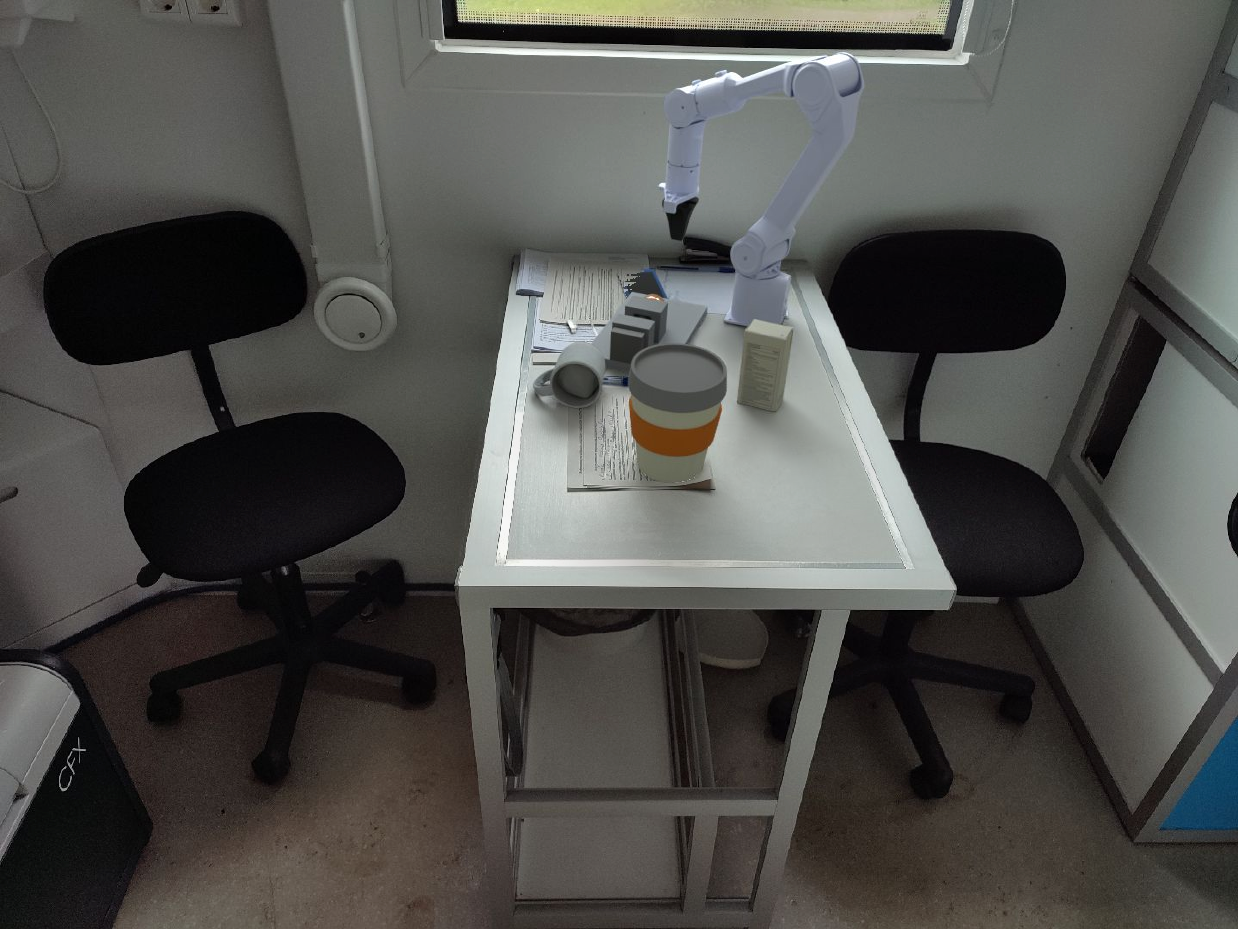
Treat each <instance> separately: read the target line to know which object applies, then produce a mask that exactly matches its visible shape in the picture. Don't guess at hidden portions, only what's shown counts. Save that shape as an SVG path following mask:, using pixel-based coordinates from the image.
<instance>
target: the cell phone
mask: <svg viewBox="0 0 1238 929" xmlns="http://www.w3.org/2000/svg"><path fill="white" fill-rule="evenodd" d="M640 270H644V272H640V273H639V272H638V273H637V274H631V276H638V277H636V278H635V279H634V278H633V279H630V281H628V279H627V281H625V282H636V283H634V284H632V285H631V286H629V285H630V284H628V286H625V287H623V288H624V289H628V291H626V292H625V293H624V295H625V294H626V296H627V298H628V296H629V295H630V294H631V292H635V293H640V294H645V295H649V294H656V295H659V296H660V297H662V298H666V299H669V298H668V296H667V294H666V292H665V290H664V288H663V286H662V283H661V282H660V279H659V277H658V275H657V272H656V270H654V269H652V268H645V269H644V268H642V269H640ZM627 276H629V274H627ZM639 276H640V277H639ZM623 288H622V289H623ZM630 289H632V290H630ZM626 296H625V297H626Z"/></svg>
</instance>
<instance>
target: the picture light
mask: <svg viewBox="0 0 1238 929" xmlns="http://www.w3.org/2000/svg"><path fill="white" fill-rule="evenodd" d="M584 318H585V319H584ZM586 318H587V317H585V316H582V317H580V318H578V319H577V320H576V322H575V324H574V322H573V321H572V319H569V320H566V321H568V322H567V324H568V325H569V328H570V330H571V334H572V333H574V334H577V330H578V329H579V328H578V325H579V324H580V323H581V322H582V321H587V320H588V319H589V318H590V317H589V318H588V319H586ZM581 319H582V320H581ZM578 321H579V322H578ZM588 321H590V324H591V327H592V328H591V327H590V328H591V330H592V332H593V331H594V332H593V334H594V333H595V334H594V336H595V335H596V336H595V338H596V337H597V336H598V334H599V333H598V331H597V329H596V328H595V325H594V323H593V321H592V320H591V318H590V319H589V320H588ZM588 321H587V322H588ZM596 331H597V332H596Z"/></svg>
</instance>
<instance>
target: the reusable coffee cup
mask: <svg viewBox="0 0 1238 929" xmlns="http://www.w3.org/2000/svg"><path fill="white" fill-rule="evenodd" d="M627 387H628V391H629V392H630V397H629V398H628V400H629V401H628V410H629V420H630V432H631V435H632V438H633V440H634V443H635V452H636V455H635V456H636V463H637V466H638V468H639V470H640V471H641V473H643V474H644V475H645V476H647V477H648V478H650V479H652V480H654V481H657V482H661V483H666V482H672V483H671V484H676V483H675V482H681V483H683V482H682V481H685V482H688V481H690V480H689V479H691V480H693V479H694V477H695V478H696V477H698V476H699V475H700V474H701V472H702V470H703V468H704V464H705V460H706V457H707V454H708V450H709V448H710V447H711V445H712V444H713V442H714V440H715V437H716V434H717V430H718V426H719V423H720V420H721V416H722V412H723V407H722V401H723V400H724V399H725V397H726V395H727V390H728V389H727V388H728V370H727V365H726V363H725V361H724V360H723V359H722V358H721V357H720V356H719V355H717V354H716V353H715V352H712V351H711V350H708V349H707V348H704V347H701V346H697V345H694V344H690V343H689V344H683V343H664V344H658V345H653V346H650V347H647V348H645V349H643V350H641V351H640V352H638V353H637V354H636V355H635V356H634V357H633V359H632V362H631V367H630V372H628V378H627ZM687 480H688V481H687Z"/></svg>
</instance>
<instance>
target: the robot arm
mask: <svg viewBox="0 0 1238 929" xmlns="http://www.w3.org/2000/svg"><path fill="white" fill-rule="evenodd" d="M714 76H715V77H713V78H712V77H711V78H708V79H706V80H701V79H695V80H693V81H692V82H691V84H690V85H687V86H685V87H684V86H683V87H681V88H680V87H679V88H674V90H673V91H670V92H669V93H668V94H667V95H666V96H665V99H664V101H663V113H664V116H665V118H666V120H667V122H668V123H669V126H668V127H669V129H668V142H667V156H666V167H665V168H666V170H665V182H661V183H659V185H657V186H658V187H657V189H658V191H662V192H663V196H664V198H663V200H661V201H662V202H661V206H662V210H663V211H662V212H663V213H665V215H666V220H667V224H668V230H669V236H670V239H671V240H674V241H679V242H682V241H683V240H684V238H685V236H686V233H687V230H688V226H689V223H690V220H691V217H692V215H693V212H694V211H695V207H696V206H697V205H698V204H699V199H700V198H699V197H698V196H699V193H700V186H699V182H700V172H701V162H702V152H703V142H704V133H705V130H706V123H707V121H708V120H711V119H716V118H718V117H722V116H725V115H729V114H732V113H733V114H734V113H737V112H740V111H741V110H742V109H743V107H744V106H745V104H746V102H747V100H749V99H752V98H756V97H760V96H765V95H768V94H772V93H778V92H781V91H783V93H784V94H785V95H786V96H787V98H790V99H791V98H795V101H796V103H797V104H798V106H799V108H800V110H801V111H802V113H803V115H804V117H805V118H806V120H807V122H808V123H809V126H810V127H811V129H812V130H811V131H812V133H813V134H812V137H811V138H810V139H809V141H808V143H807V145H806V147H805V148H804V150H803V151H802V153H801V154H800V156H799V158H797V160H796V162H795V163H794V166H793V167H792V169H791V171H790V172H789V174H788V175H787V177H786V178H785V180H784V181H783V183H782V185H781V186H780V188H779V190H778V191H777V193H776V195H775V196H774V198H773V199H772V200H771V202H770V203H769V205H768V207H767V208H766V210H765V211H764V214H763V215H762V217H761V218H759V219H758V221H756V222H755V223H753V225H752V226H751V227H750V228H749V229H748V231H747V233H745V235H744V236H743V237H742V238H740V239H737V240H736V241H735V242H734V243H732V247H731V249H730V252H729V254H730V261H731V265H732V266H733V268H734V269H735V277H734V286H733V293H732V298H731V299H732V300H731V305H730V307H729V310H728V312H727V314H726V315H725V317H724V319H723V321H724V322H725V323H728V324H731V325H733V324H734V325H739V326H742V327H743V326H744V327H748V326H749V324H750V323H751V322H752V321H753V320H754V319H757V320H762V321H767V322H772V323H776V324H781V325H782V323H783V320H784V318H785V317H786V316H787V310H788V306H787V305H788V300H789V294H790V291H791V290H790V289H791V284H792V282H791V281H792V275H790V274H787V273H785V272H782V271H781V270H780V269H781V265H782V264H781V263H782V260H784V259H786V258H787V257H788V255H789V253H790V251H791V245H792V244H791V243H792V239H793V238H794V236H795V234H796V232H797V231H796V229H795V226H796V225H797V223H798V221H799V220H800V218H801V217H802V215H803V214H804V212H805V211H806V209H807V208H808V207H809V205H810V203H811V201H812V200H813V199H814V198H815V196H816V194H817V192H818V191H819V190H820V188H821V187H822V185H823V183H824V182H825V180H826V179H827V178H828V176H829V175H830V174H831V172H832V170H833V169H834V167H835V166H836V165H837V162H838V161H839V160H840V158H841V156H842V155H843V154H844V152H845V151H846V149H847V147H848V146H849V145H850V143H851V142H852V140H853V138H854V136H855V131H856V125H857V120H858V119H857V118H858V110H859V102H860V98H861V96H862V94H863V92H864V90H865V87H866V84H865V81H864V79H865V78H864V75H863V71H862V68H861V64H860V63H859V61H858V59H857V58H856V57H855V56H854V55H852V54H851V53H849V52H837V53H834V54H833V55H831V56H828V55H826V54H825V55H818V56H813V57H808V58H800V59H796V60H793V61H789V62H786V63H783V64H780V65H777V66H774V67H771V68H769V69H765V70H762V71H760V72H757V73H754V74H751V75H749V76H748V75H747V76H745V77H741V75H740V74H738V73H736V72H728V71H727V70H726V69H724V70H720V71H717V72H715V73H714Z"/></svg>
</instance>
